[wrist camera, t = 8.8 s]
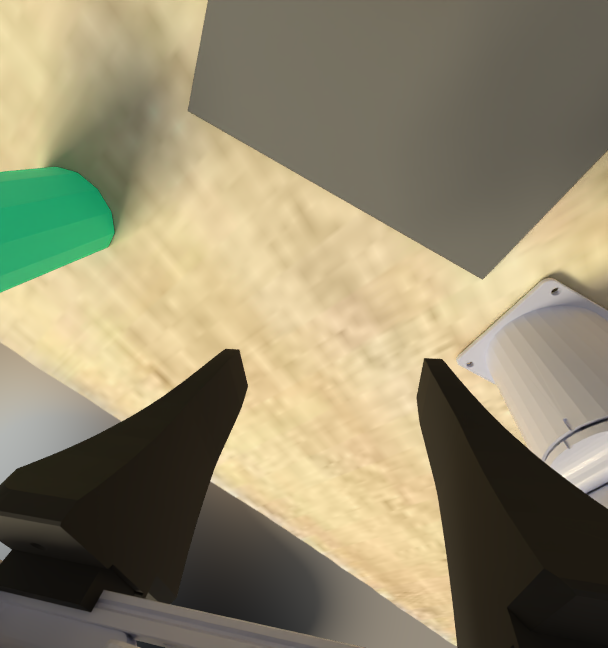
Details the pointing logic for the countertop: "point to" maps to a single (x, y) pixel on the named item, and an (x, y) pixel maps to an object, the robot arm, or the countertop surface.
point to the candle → (48, 222)
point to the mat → (417, 106)
